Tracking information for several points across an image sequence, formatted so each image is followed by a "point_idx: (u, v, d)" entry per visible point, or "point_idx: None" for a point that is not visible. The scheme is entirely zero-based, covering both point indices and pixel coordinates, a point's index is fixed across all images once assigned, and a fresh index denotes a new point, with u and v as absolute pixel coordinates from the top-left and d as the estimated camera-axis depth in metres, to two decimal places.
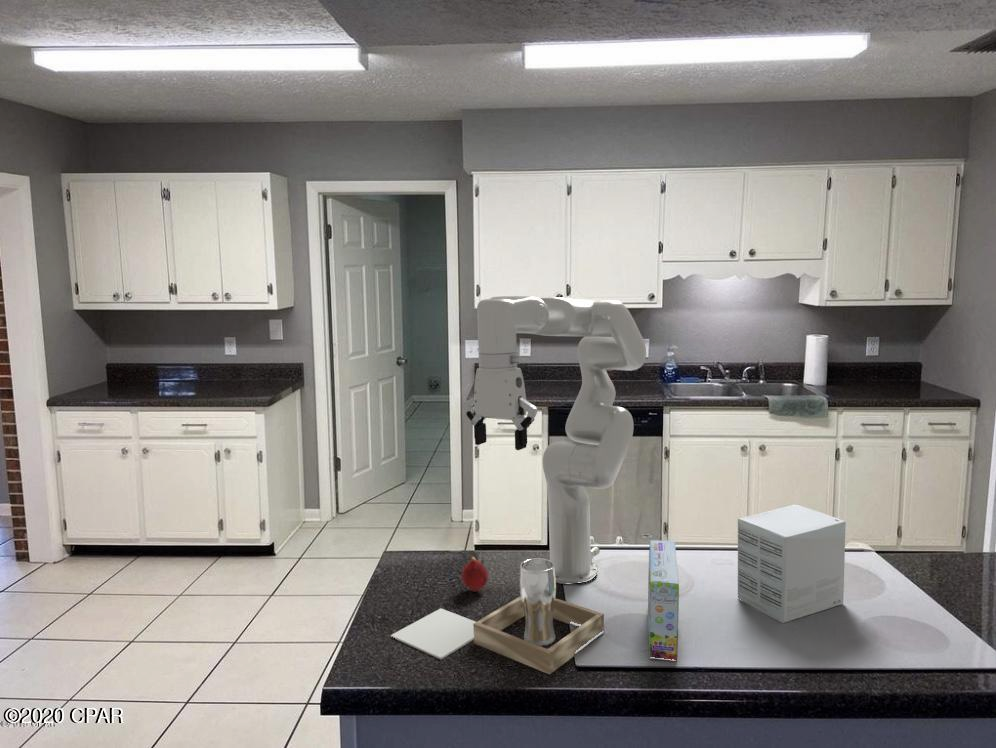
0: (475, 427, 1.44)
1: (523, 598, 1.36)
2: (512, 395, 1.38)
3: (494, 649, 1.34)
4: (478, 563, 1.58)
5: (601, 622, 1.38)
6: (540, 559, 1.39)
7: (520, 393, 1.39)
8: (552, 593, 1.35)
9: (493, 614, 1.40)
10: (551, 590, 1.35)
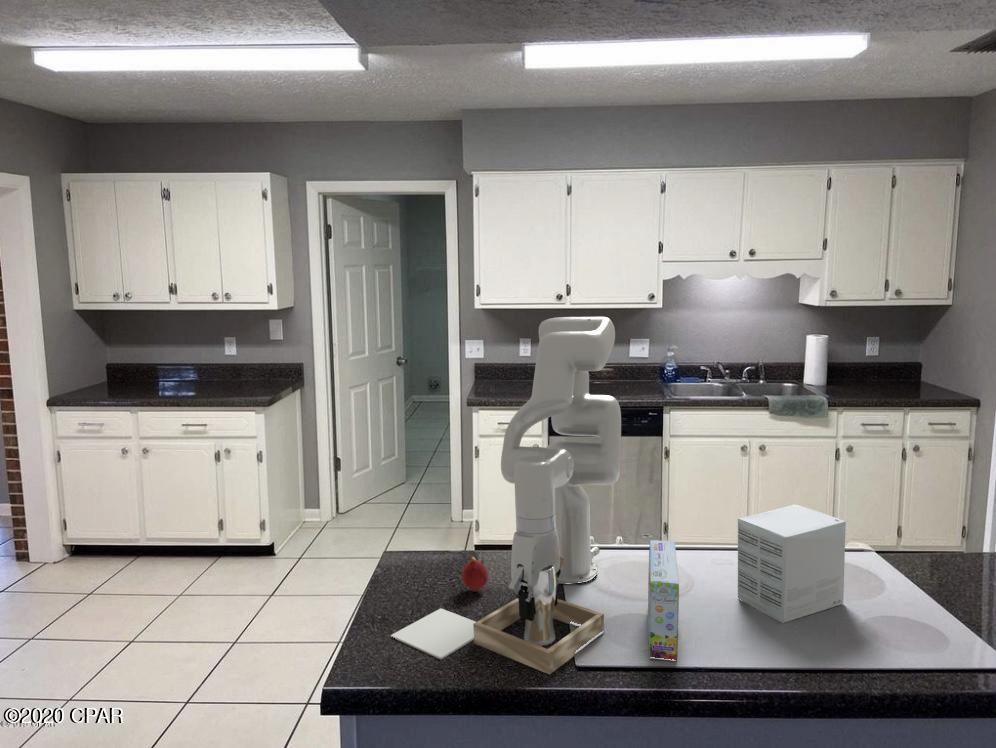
0: (532, 602, 1.33)
1: None
2: (559, 548, 1.38)
3: (494, 649, 1.34)
4: (478, 563, 1.58)
5: (601, 622, 1.38)
6: None
7: None
8: (552, 593, 1.35)
9: (493, 614, 1.40)
10: (551, 590, 1.35)
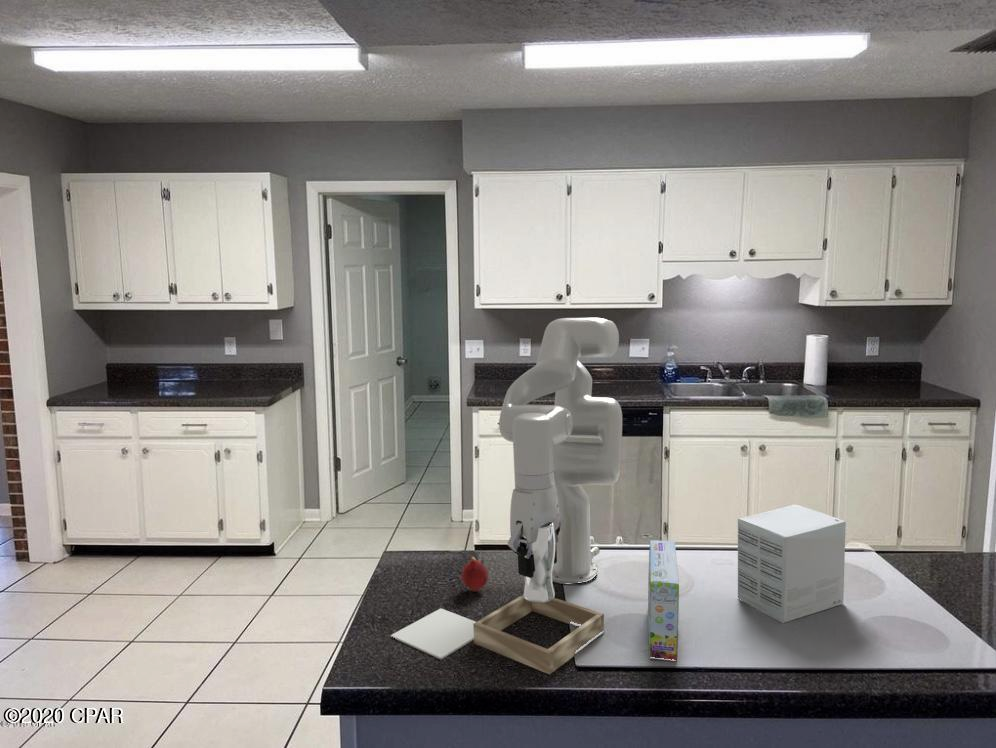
0: (532, 559, 1.33)
1: None
2: (558, 505, 1.37)
3: (494, 649, 1.34)
4: (478, 563, 1.58)
5: (601, 622, 1.38)
6: None
7: None
8: (551, 550, 1.34)
9: (493, 614, 1.40)
10: (550, 547, 1.34)
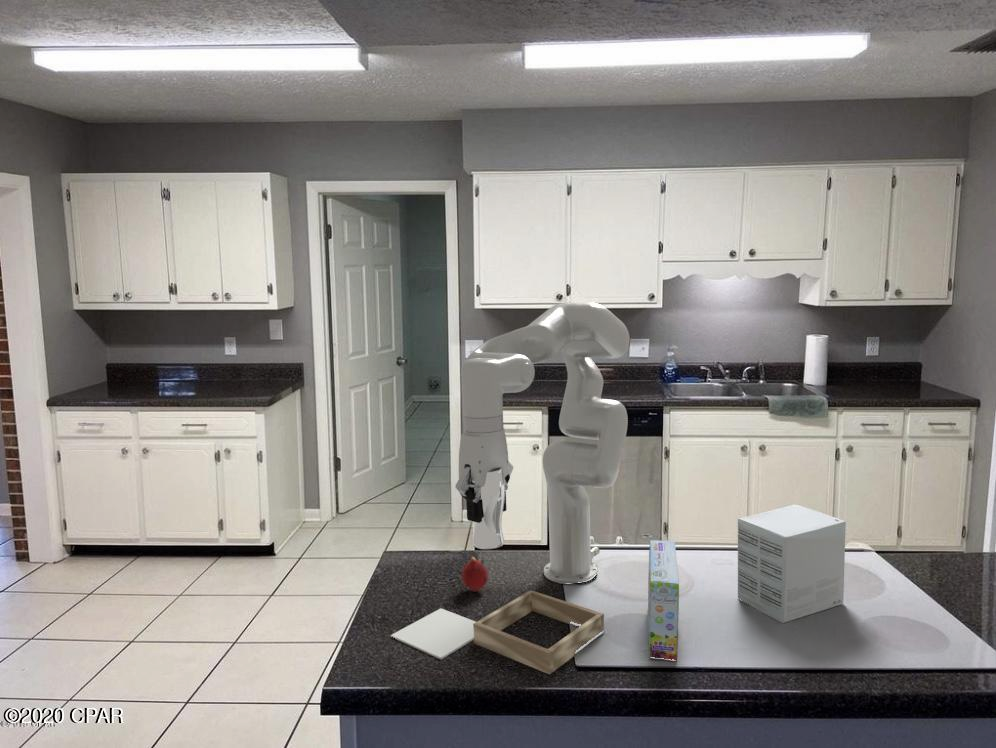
0: (480, 503, 1.32)
1: None
2: (507, 452, 1.37)
3: (494, 649, 1.34)
4: (478, 563, 1.58)
5: (601, 622, 1.38)
6: None
7: None
8: (500, 495, 1.34)
9: (493, 614, 1.40)
10: (499, 492, 1.33)
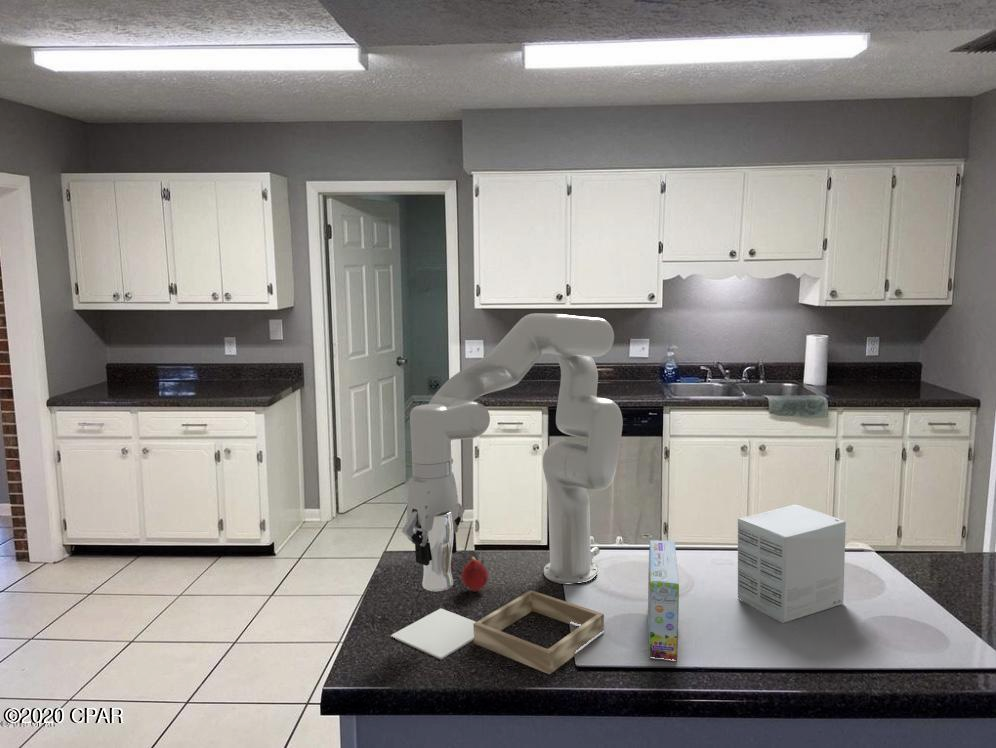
0: (427, 547, 1.35)
1: None
2: (457, 495, 1.40)
3: (494, 649, 1.34)
4: (478, 563, 1.58)
5: (601, 622, 1.38)
6: None
7: None
8: (448, 538, 1.37)
9: (493, 614, 1.40)
10: (447, 535, 1.36)
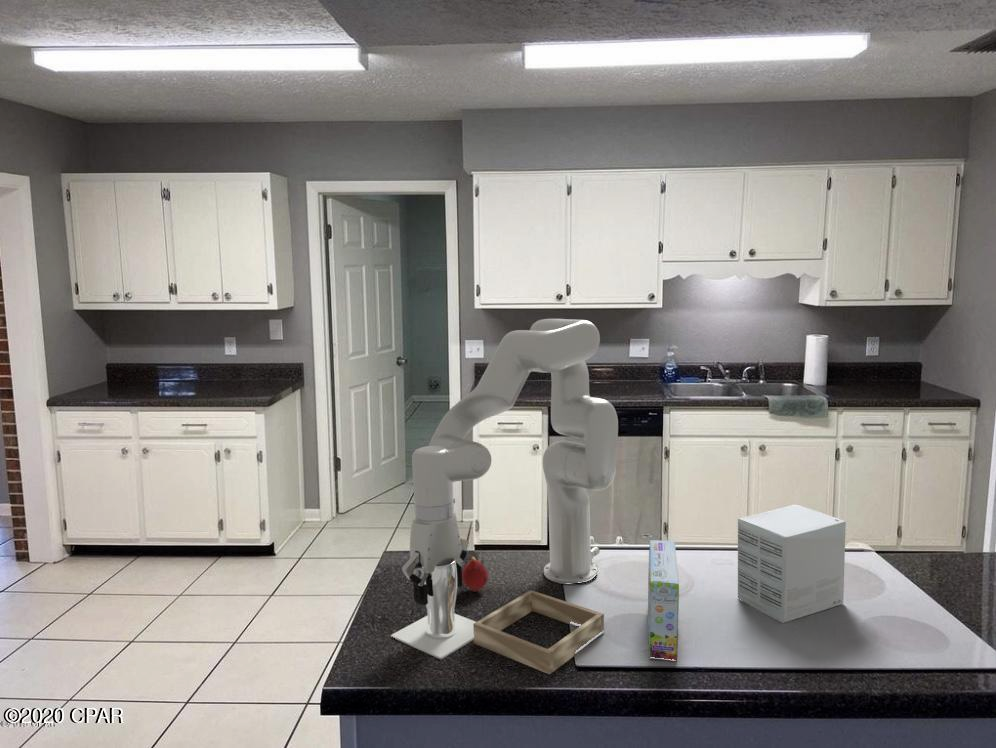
0: (425, 586, 1.36)
1: None
2: (459, 535, 1.41)
3: (494, 649, 1.34)
4: (478, 563, 1.58)
5: (601, 622, 1.38)
6: None
7: None
8: (452, 588, 1.38)
9: (493, 614, 1.40)
10: (450, 585, 1.38)
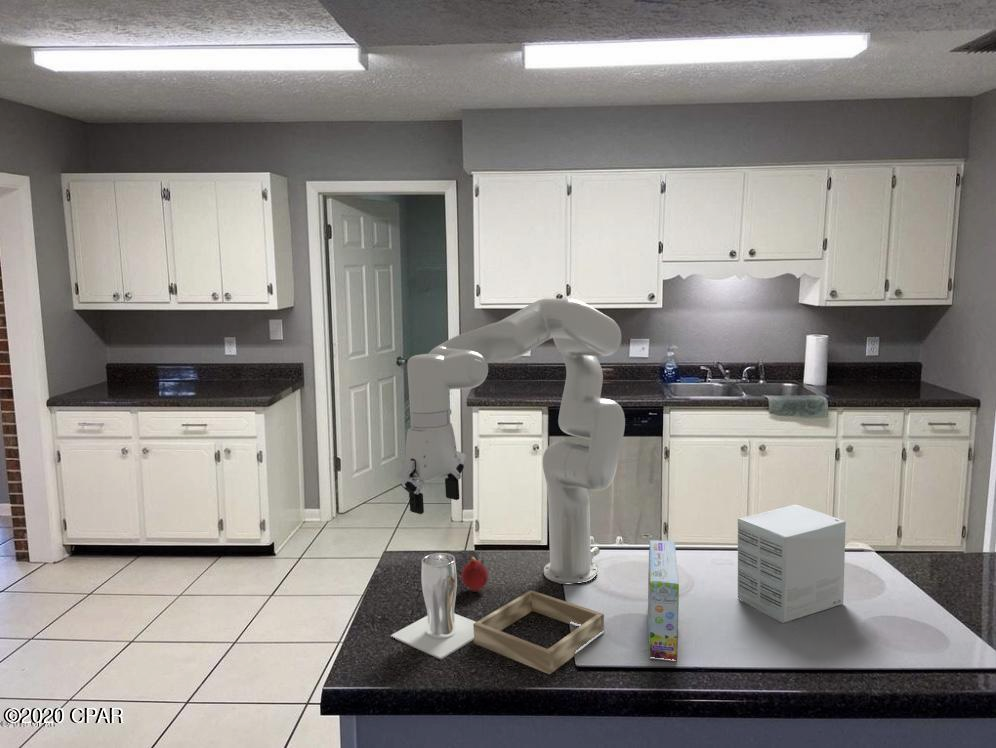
0: (421, 495, 1.33)
1: (423, 591, 1.39)
2: (455, 447, 1.39)
3: (494, 649, 1.34)
4: (478, 563, 1.58)
5: (601, 622, 1.38)
6: (444, 554, 1.43)
7: None
8: (451, 587, 1.38)
9: (493, 614, 1.40)
10: (450, 584, 1.38)
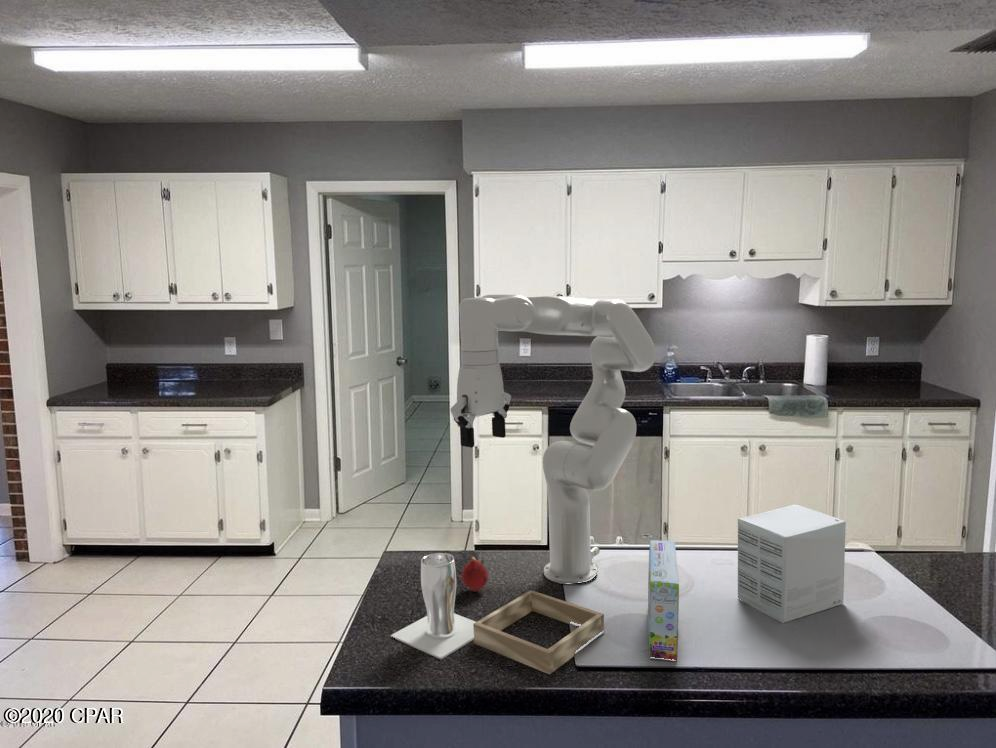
0: (472, 429, 1.41)
1: (423, 592, 1.39)
2: None
3: (494, 649, 1.34)
4: (478, 563, 1.58)
5: (601, 622, 1.38)
6: (443, 554, 1.43)
7: None
8: (450, 587, 1.38)
9: (493, 614, 1.40)
10: (449, 584, 1.38)
